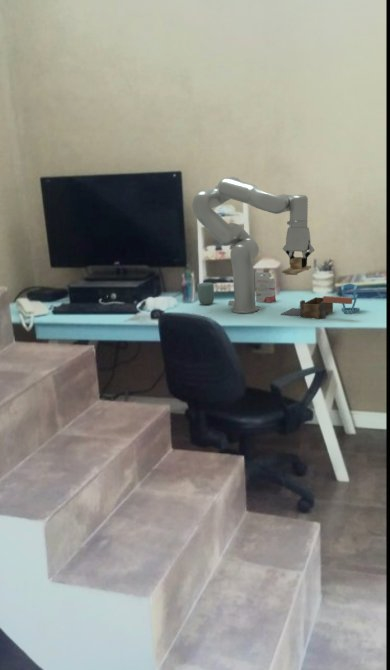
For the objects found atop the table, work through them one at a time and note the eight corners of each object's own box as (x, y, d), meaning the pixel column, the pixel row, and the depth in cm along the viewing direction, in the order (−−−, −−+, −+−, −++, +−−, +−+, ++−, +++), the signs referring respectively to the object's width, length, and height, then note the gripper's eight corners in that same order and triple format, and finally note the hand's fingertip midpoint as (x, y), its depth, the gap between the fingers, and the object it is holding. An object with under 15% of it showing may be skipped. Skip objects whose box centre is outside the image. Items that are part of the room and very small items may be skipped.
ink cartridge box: (276, 300, 312) (274, 270, 308) (271, 303, 308) (269, 272, 304) (260, 299, 316) (259, 270, 313) (255, 302, 313) (254, 272, 309)
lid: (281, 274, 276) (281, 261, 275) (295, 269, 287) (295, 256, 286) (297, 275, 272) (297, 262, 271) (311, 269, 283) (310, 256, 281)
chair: (339, 314, 277) (338, 286, 274) (341, 309, 284) (341, 282, 281) (357, 314, 274) (357, 286, 271) (359, 309, 282) (359, 282, 279)
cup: (217, 302, 317) (216, 282, 315) (209, 306, 311) (207, 285, 309) (204, 301, 322) (202, 282, 319) (195, 305, 315) (194, 285, 313)
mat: (280, 314, 283) (280, 313, 283) (292, 308, 293) (292, 308, 292) (301, 316, 277) (301, 315, 277) (312, 310, 287) (312, 309, 287)
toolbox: (300, 317, 276) (299, 301, 274) (313, 310, 287) (313, 295, 285) (322, 319, 270) (322, 303, 268) (335, 311, 281) (335, 296, 279)
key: (323, 302, 269) (322, 296, 268) (324, 301, 270) (324, 295, 270) (350, 304, 262) (350, 298, 261) (352, 303, 263) (352, 297, 263)
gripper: (276, 224, 277) (276, 266, 282) (313, 226, 268) (312, 269, 273) (284, 222, 283) (284, 263, 288) (320, 224, 274) (319, 266, 279)
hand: (298, 265), depth 281 cm, fingers closed on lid, 4 cm apart
